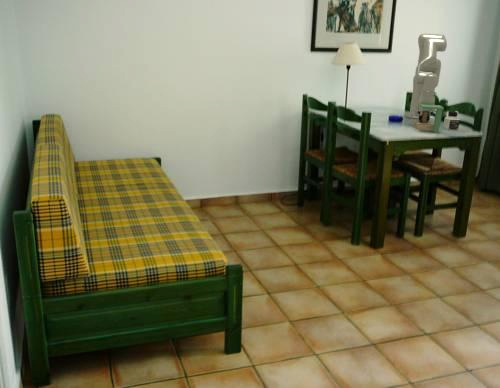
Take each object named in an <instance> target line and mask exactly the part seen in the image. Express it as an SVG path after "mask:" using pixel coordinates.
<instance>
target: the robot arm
mask: <svg viewBox="0 0 500 388" xmlns="http://www.w3.org/2000/svg"><path fill="white" fill-rule="evenodd" d="M417 45H418V50H419V53H418V60H417V66H416V67H415V72H414V73H415V74H414V76H413V80H412V94H411V102H410V107H409V108H410V109H409V112H408V113H409V114H406V117H408V118H411V119H416V120H417V119H418V121H420V122H421V121H422V112H423V111H428V117H427V122H430V119H431V116H432V115H433V114H436V109H424V108H421V107H420V106H419V104H424V105H436V104H435V101H436V98H435V95H437V91H435V89H436V88H437V87H438V85H439V81H440V76H441V70H442V61H441V60H440V59H438V58H437V53H438V52H442V53H444V52H445V51H446V49H447V47H448V45H447V39H446V36H445V34H438V33H421V34H420V35H419V36H418V38H417Z"/></svg>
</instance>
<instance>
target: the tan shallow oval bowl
mask: <svg viewBox="0 0 500 388" xmlns="http://www.w3.org/2000/svg"><path fill="white" fill-rule="evenodd" d="M412 125H413V127H414V128H415V129H417V130H418V131H428V132H429V131H430V132H433V127H434V123H432V122H430V121H428V122H427V123H420V121H419V120H413V124H412Z"/></svg>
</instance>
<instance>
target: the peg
mask: <svg viewBox="0 0 500 388" xmlns="http://www.w3.org/2000/svg"><path fill="white" fill-rule="evenodd" d="M427 117H428V111H423V112H422V121H421V122H420V123H427Z"/></svg>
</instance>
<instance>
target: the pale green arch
mask: <svg viewBox="0 0 500 388" xmlns="http://www.w3.org/2000/svg"><path fill="white" fill-rule="evenodd" d="M419 106H420V107H421V108H424V109H435V110H436V112H435V113H434V114H435V117H434V122H433V125H434V127H433V131H432V133H435V134H438V133H440V126H441V122H442V115H443V110H445V108H444V107H443V106H442V105H439V104H438V105H436V104H435V105H424V104H419Z"/></svg>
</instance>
